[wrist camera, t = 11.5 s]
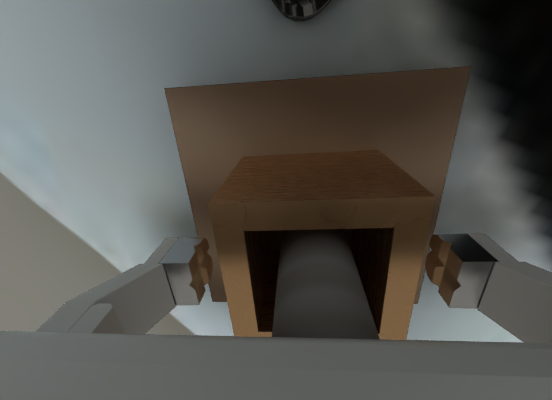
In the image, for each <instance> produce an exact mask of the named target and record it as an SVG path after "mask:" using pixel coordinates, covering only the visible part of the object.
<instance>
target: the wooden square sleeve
mask: <svg viewBox="0 0 552 400" xmlns="http://www.w3.org/2000/svg"><path fill="white" fill-rule="evenodd" d="M435 197H436V196H434V195H433V194H432V193H431V192H430V191H428V190H427V189H426V188H425V187H423V186H422V185H421V184H420V183H419V182H417V181H416V180H415V179H414V178H412V177H411V176H410V175H409V174H408V173H406V172H405V171H404V170H403V169H401V168H400V167H399V166H398V165H397V164H395V163H394V162H393V161H392V160H390V159H389V158H388V157H387V156H386V155H384V154H383V153H382V152H381V151H379V150H362V151H342V152H323V153H304V154H284V155H265V156H246V157H242V158H241V159H240V161H239V162H238V163H237V165H236V166H235V167H234V169H233V170H232V172H231V173H230V174H229V176H228V177H227V178H226V180H225V181H224V182H223V184H222V185H221V187H220V188H219V189H218V191H217V192H216V193H215V195H214V196H213V197H212V199H211V200H210V201H209V203H208V209H209V214H210V219H211V223H212V228H213V233H214V238H215V243H216V248H217V253H218V258H219V263H220V268H221V273H222V277H223V282H224V287H225V292H226V297H227V302H228V307H229V312H230V317H231V322H232V327H233V332H234V336H245V337H272V328H273V318H274V308H275V298H276V288H277V278H278V267H279V257H280V249H271V244H270V234H269V231H271V230H314V229H352V241H351V248H350V249H351V252H352V255H353V258H354V261H355V264H356V267H357V270H358V274H359V277H360V280H361V283H362V286H363V289H364V292H365V295H366V298H367V301H368V304H369V307H370V311H371V314H372V317H373V320H374V323H375V326H376V329H377V332H378V335H379V338H380V339H386V340H406V337H407V332H408V327H409V323H410V318H411V313H412V308H413V303H414V298H415V294H416V289H417V284H418V279H419V274H420V269H421V264H422V260H423V255H424V250H425V245H426V240H427V235H428V231H429V226H430V221H431V216H432V211H433V206H434V201H435Z"/></svg>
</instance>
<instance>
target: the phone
mask: <svg viewBox="0 0 552 400" xmlns="http://www.w3.org/2000/svg"><path fill="white" fill-rule="evenodd" d="M272 1H273V2H274V4H275V5H276V6H277V8H278V9H279V10H280V12H282V13H283V14H284V15H285V16H286V17H287V18H289V19H291V20H294V21H306V20H309V19H312V18H313V17H315V16H316V15H317V14H318V13H320V12H321V11H322V10H323V9H324V8H325V6H326V5H327V4H328V3H329V2H330V1H331V0H272Z"/></svg>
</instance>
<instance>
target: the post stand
mask: <svg viewBox="0 0 552 400" xmlns="http://www.w3.org/2000/svg"><path fill="white" fill-rule="evenodd" d="M470 69H471V66H467V67H453V68H440V69H426V70H412V71H398V72H384V73H370V74H357V75H343V76H329V77H315V78H301V79H287V80H273V81H260V82H246V83H232V84H218V85H204V86H190V87H177V88H164V89H165V93H166V98H167V102H168V106H169V111H170V115H171V120H172V124H173V129H174V133H175V137H176V142H177V146H178V151H179V155H180V160H181V164H182V168H183V173H184V177H185V182H186V186H187V190H188V195H189V199H190V204H191V208H192V213H193V217H194V221H195V226H196V230H197V235H198V238H206V239H207V240H208V244H209V249H208V251H207V253H208V254H209V255H210V256H211V257H212V262H213V270H212V276H211V279H210V281H209V282H208V283H209V288H210V292H211V297H212V301H213V302H227V297H226V292H225V287H224V282H223V277H222V273H221V268H220V263H219V258H218V253H217V248H216V243H215V238H214V233H213V228H212V223H211V219H210V214H209V209H208V203H209V201H210V200H211V199H212V197H213V196H214V195H215V193H216V192H217V191H218V189H219V188H220V187H221V185H222V184H223V182H224V181H225V180H226V178H227V177H228V176H229V174H230V173H231V172H232V170H233V169H234V167H235V166H236V165H237V163H238V162H239V161H240V159H241V158H242V157H246V156H265V155H284V154H304V153H323V152H342V151H362V150H379V151H381V152H382V153H383V154H384V155H386V156H387V157H388V158H389V159H390V160H392V161H393V162H394V163H395V164H397V165H398V166H399V167H400V168H401V169H403V170H404V171H405V172H406V173H408V174H409V175H410V176H411V177H412V178H414V179H415V180H416V181H417V182H419V183H420V184H421V185H422V186H423V187H425V188H426V189H427V190H428V191H430V192H431V193H432V194H433V195H434V196H436V197H435V201H434V206H433V211H432V216H431V221H430V226H429V231H428V235H427V240H426V245H425V250H424V255H423V260H422V264H421V269H420V274H419V279H418V284H417V289H416V294H415V298H414V303H413V304H418V299H419V295H420V290H421V286H422V282H423V277H424V273H425V268H426V266H425V261H426V256H427V255H428V254H429V251H430V246H429V242H430V239H431V237H432V236H433V233H434V228H435V224H436V220H437V215H438V211H439V206H440V202H441V197H442V193H443V189H444V184H445V180H446V175H447V171H448V167H449V162H450V158H451V153H452V149H453V144H454V140H455V136H456V131H457V127H458V122H459V118H460V113H461V109H462V105H463V100H464V96H465V91H466V87H467V82H468V78H469V74H470ZM269 234H270V244H271V249H280V257H279V267H278V278H277V288H276V298H275V308H274V318H273V328H272V337H292V338H339V339H380V338H379V335H378V332H377V329H376V326H375V323H374V320H373V317H372V314H371V311H370V307H369V304H368V301H367V298H366V295H365V292H364V289H363V286H362V283H361V280H360V277H359V274H358V270H357V267H356V264H355V261H354V258H353V255H352V252H351V249H350V248H351V241H352V229H314V230H271V231H269Z"/></svg>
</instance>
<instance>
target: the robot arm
mask: <svg viewBox="0 0 552 400" xmlns="http://www.w3.org/2000/svg"><path fill="white" fill-rule="evenodd" d="M429 246H430V247H431V249H432V251H431V252H430V253H429V254H428V255H427V256H426V261H425V266H426V272H427V275H428V277H429V279H430V280H431V282H433V283H434V284H436V285H438V286H439V291H438V292H439V293H440V295H441V296H442V298H443V299H444V301H445V302H446V304H447V305H448V307H449V308H477V309H478V310H479V311H480V312H482V313H483V314H484V315H486V316H487V317H489V318H490V319H491V320H493V321H494V322H496V323H497V324H499V325H500V326H501V327H503V328H504V329H506V330H507V331H508V332H510V333H511V334H513V335H514V336H516V337H517V338H518V339H520V340H521V341H523V342H524V343H515V342H469V341H427V340H386V339H339V338H292V337H245V336H200V335H154V334H145V333H146V332H147V331H149V330H150V329H151V328H152V327H153V326H154V325H155V324H156V323H158V322H159V321H160V320H161V319H162V318H163V317H164V316H166V314H168V313H169V312H170V311H171V310H172V309H173V308H175V307H176V305H199V304H200V301H201V299H202V297H203V295H204V292H205V287H204V285H205V284H207V283H208V282H209V281H210V279H211V276H212V270H213V262H212V257H211V256H210V255H209V254H208V253H207V251H208V249H209V244H208V240H207V239H206V238H166V239H165V240H164V241H163V242H162V243H161V244H160V246H159V247H158V248H157V249H156V250H155V251H154V253H153V254H152V255H151V256H150V257H149V259H148V260H147V261H146V262H145V263H144V264H139V265H137V266H135V267H133V268H131V269H129V270H127V271H125V272H123V273H121V274H119V275H117V276H116V277H114V278H112V279H110V280H108V281H106V282H104V283H102V284H101V285H98V286H96V287H94V288H92V289H90V290H88V291H87V292H85V293H83V294H81V295H79V296H77V297H75V298H73V299H71V300H69V301H67V302H66V303H65V304H63V306H61V307H60V308H59V309H58V310H57V311H56V312H55V313H54V314H53V315H52V316H51V317H50V318H49V319H48V320H47V321H46V322H45V323H44V324H42V325H41V326H40V327H39V328H38V329H37V330H36V331H35V332H23V331H22V332H21V331H0V400H552V272H549V271H546V270H544V269H541V268H539V267H536V266H534V265H531V264H528V263H526V262H519V261H517V260H516V259H515V258H514V257H512V256H511V255H510V254H509V253H507V252H506V251H505V250H504V249H502V248H501V247H500V246H499V245H497V244H496V243H495V242H494V241H492V240H491V239H490V238H489V237H487V236H486V235H485V234H482V233H467V234H444V235H433V236H432V237H431V239H430V242H429Z"/></svg>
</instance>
